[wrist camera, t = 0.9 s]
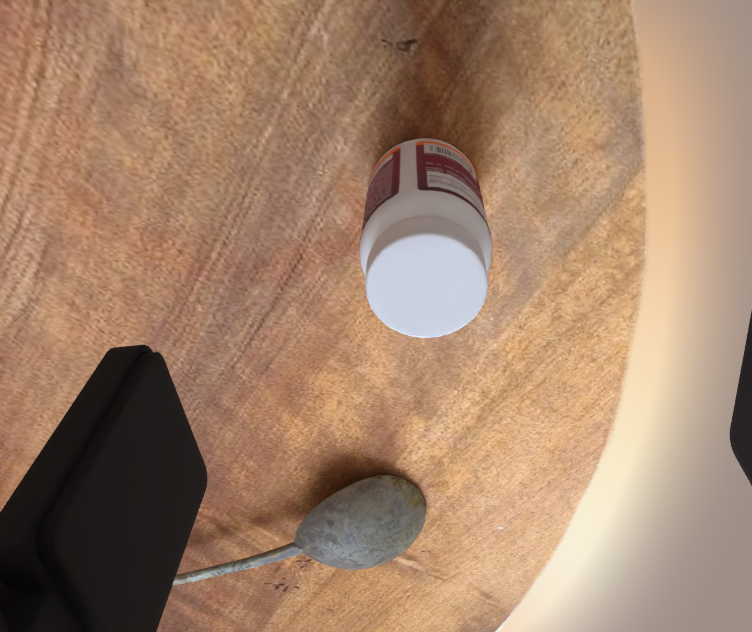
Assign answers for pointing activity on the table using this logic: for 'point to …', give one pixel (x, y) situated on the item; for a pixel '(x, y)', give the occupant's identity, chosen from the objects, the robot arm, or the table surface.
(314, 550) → the soupspoon
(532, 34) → the table surface
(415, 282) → the pill bottle
